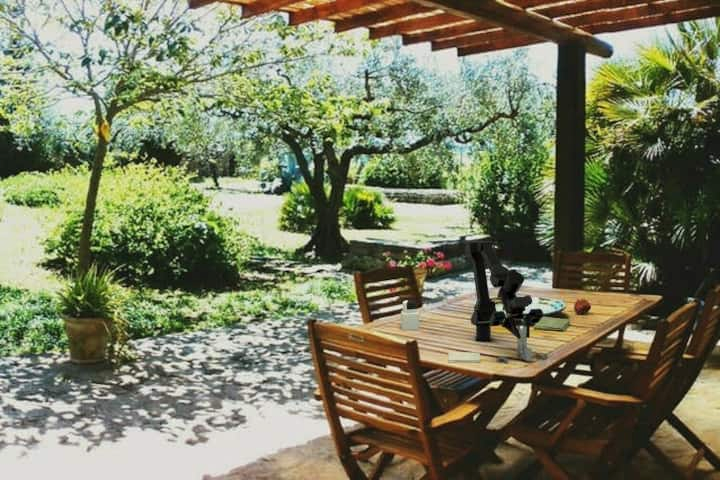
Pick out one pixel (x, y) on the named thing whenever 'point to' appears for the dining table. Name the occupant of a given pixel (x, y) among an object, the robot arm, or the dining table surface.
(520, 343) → the steel hook
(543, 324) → the washcloth
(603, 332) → the dining table surface
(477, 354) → the cream ceramic tile
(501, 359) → the vise jaws
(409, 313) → the medicine bottle
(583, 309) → the red spiky fruit
